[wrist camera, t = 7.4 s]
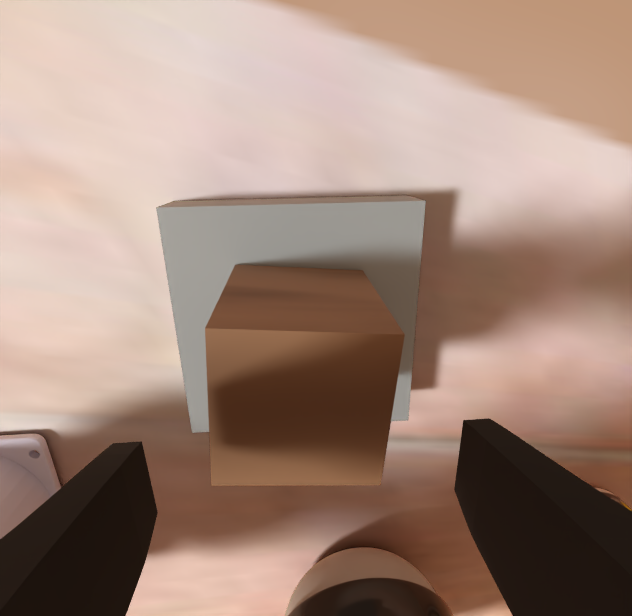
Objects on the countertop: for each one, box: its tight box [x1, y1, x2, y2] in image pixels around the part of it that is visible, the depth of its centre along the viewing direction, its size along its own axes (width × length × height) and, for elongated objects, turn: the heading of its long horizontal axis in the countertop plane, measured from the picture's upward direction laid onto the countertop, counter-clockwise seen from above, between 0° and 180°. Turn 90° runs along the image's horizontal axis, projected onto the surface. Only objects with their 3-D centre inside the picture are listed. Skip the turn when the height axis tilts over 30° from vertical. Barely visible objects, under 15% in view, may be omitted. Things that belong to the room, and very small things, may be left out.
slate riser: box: [156, 195, 426, 433], centre depth 18 cm, size 10×10×3 cm
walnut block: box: [205, 265, 405, 486], centre depth 13 cm, size 5×5×6 cm
